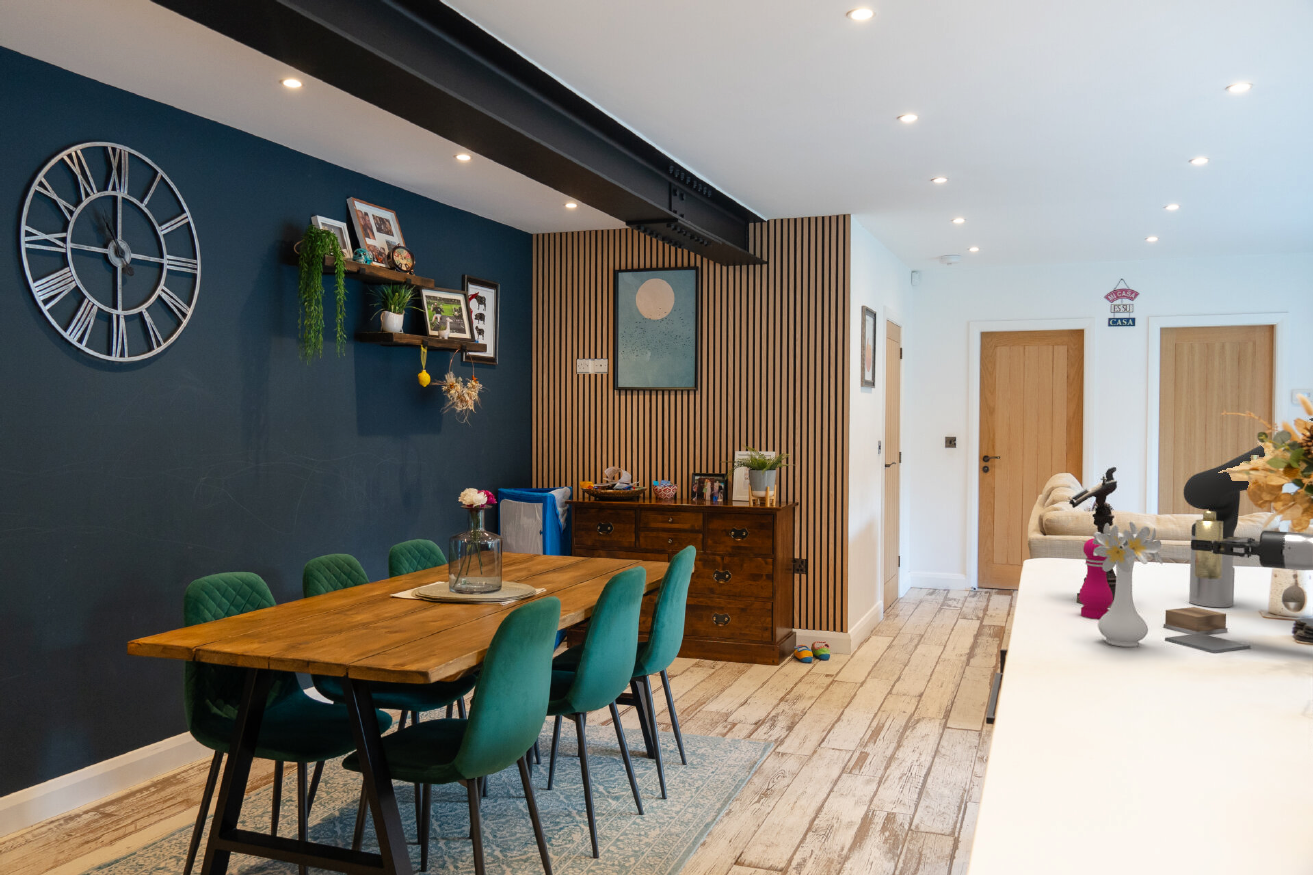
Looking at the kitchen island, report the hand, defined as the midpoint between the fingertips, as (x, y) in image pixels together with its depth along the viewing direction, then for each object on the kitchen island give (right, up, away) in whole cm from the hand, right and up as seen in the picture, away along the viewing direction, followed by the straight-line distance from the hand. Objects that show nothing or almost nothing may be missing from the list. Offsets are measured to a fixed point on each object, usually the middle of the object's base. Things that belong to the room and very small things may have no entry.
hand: (1194, 543), depth 202 cm
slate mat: (-1, -20, -6) cm, 21 cm away
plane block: (+4, -20, +7) cm, 22 cm away
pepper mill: (-12, -20, +20) cm, 30 cm away
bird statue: (-6, -19, +36) cm, 41 cm away
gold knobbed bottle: (+2, -7, -1) cm, 7 cm away
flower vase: (-19, -20, -7) cm, 29 cm away
